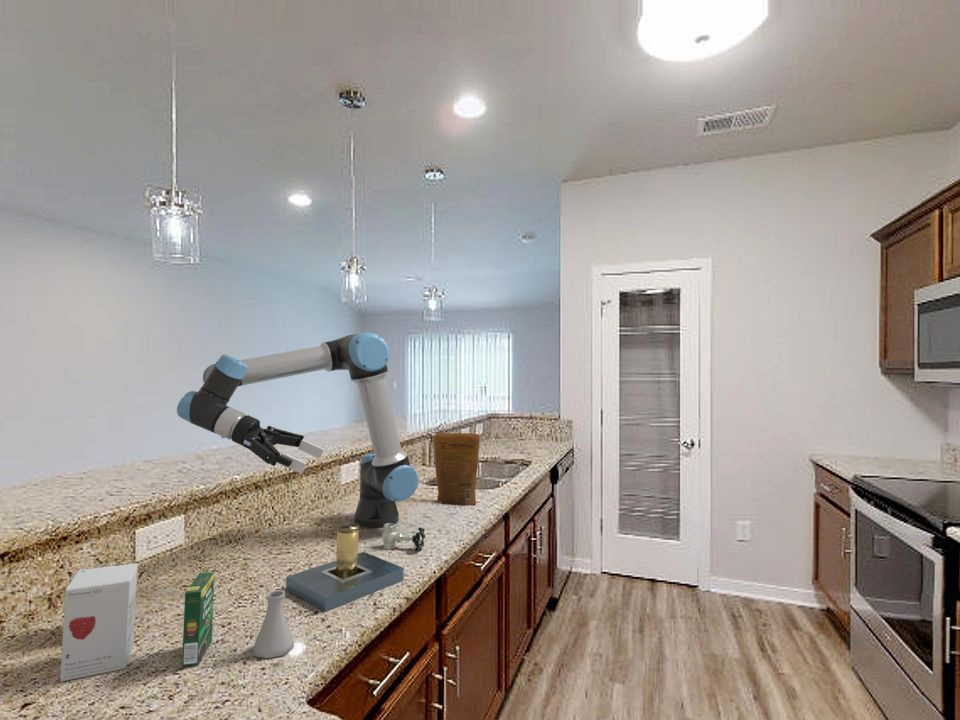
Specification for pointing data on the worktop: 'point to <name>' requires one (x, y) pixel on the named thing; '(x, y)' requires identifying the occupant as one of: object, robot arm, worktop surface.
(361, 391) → the robot arm
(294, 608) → the worktop surface
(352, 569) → the brass bushing
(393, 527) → the valve
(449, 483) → the pancake mix bag
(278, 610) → the flask
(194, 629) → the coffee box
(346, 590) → the plate
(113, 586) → the supplement box
